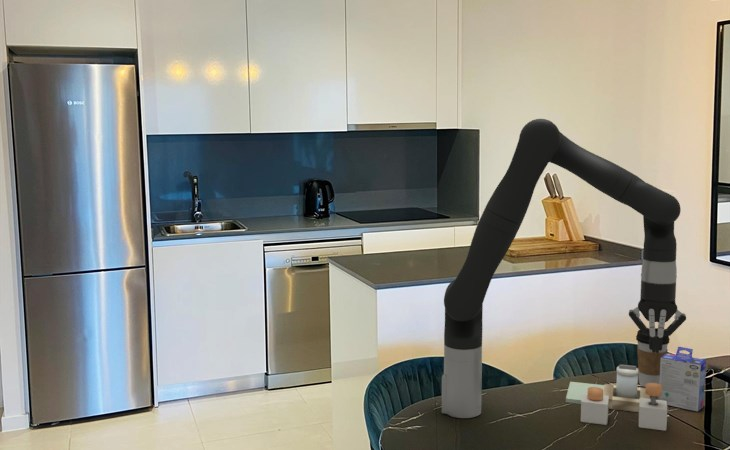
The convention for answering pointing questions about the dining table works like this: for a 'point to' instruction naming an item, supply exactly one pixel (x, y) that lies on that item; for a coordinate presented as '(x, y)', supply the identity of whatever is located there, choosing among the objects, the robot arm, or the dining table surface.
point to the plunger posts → (647, 413)
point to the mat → (579, 391)
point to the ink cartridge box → (683, 380)
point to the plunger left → (595, 393)
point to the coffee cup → (649, 359)
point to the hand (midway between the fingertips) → (655, 351)
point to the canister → (627, 381)
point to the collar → (623, 399)
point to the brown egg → (653, 391)
